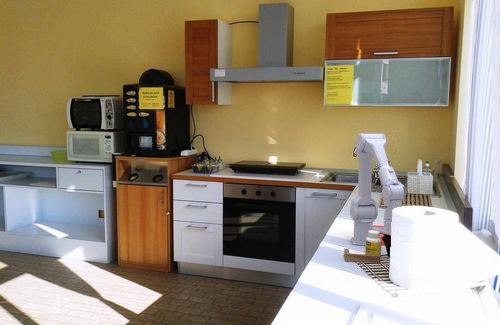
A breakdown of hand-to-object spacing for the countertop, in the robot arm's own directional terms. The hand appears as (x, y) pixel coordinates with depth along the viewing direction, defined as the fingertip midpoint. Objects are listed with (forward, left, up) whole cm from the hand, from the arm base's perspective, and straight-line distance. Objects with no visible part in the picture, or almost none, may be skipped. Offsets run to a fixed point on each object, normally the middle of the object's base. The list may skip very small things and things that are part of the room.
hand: (390, 256), depth 171 cm
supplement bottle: (-1, -6, -2) cm, 6 cm away
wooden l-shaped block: (+1, -10, -1) cm, 10 cm away
